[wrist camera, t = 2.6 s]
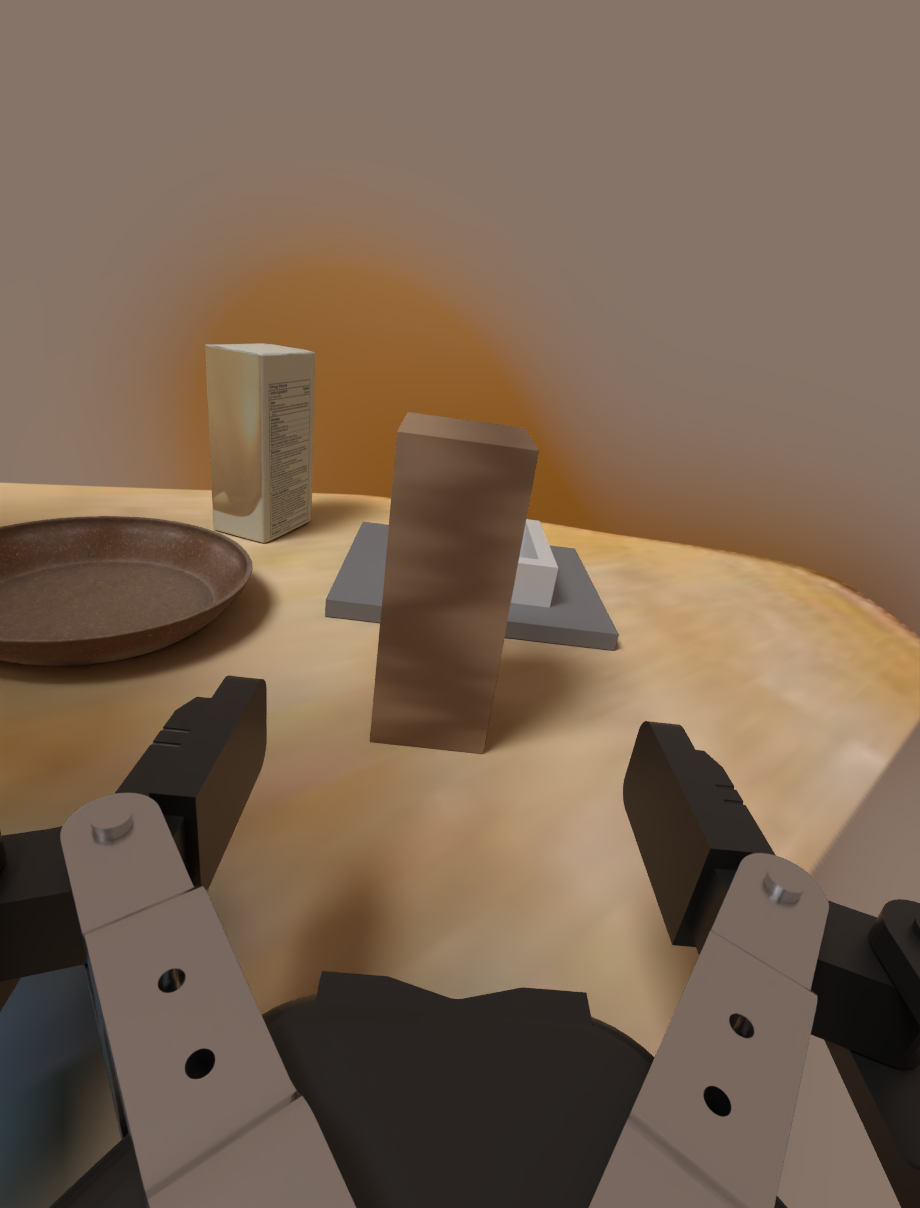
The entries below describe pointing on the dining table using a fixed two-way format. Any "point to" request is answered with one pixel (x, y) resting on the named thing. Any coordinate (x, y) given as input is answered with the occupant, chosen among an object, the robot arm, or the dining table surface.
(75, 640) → the saucer
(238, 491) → the skincare box
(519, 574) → the collar holder
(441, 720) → the walnut square peg
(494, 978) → the dining table surface
